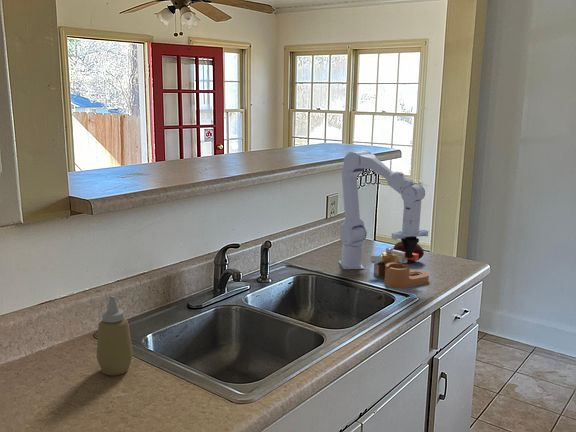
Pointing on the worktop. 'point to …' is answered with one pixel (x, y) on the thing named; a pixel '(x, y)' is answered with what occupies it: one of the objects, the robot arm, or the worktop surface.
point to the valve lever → (402, 254)
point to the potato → (417, 250)
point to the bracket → (403, 276)
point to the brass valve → (385, 262)
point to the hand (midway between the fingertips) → (408, 257)
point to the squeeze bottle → (114, 341)
